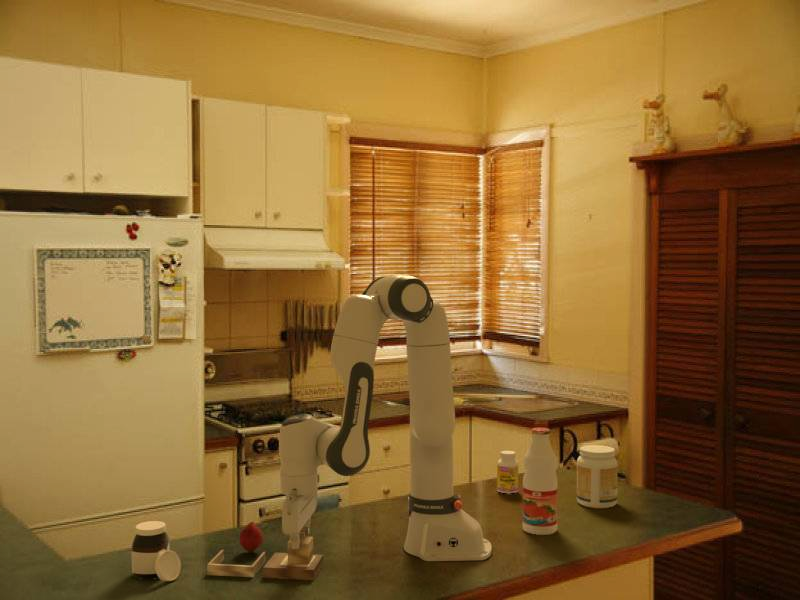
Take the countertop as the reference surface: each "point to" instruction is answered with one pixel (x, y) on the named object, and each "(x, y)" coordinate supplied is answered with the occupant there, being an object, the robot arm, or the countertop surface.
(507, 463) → the supplement bottle
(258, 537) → the onion
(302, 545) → the oak block
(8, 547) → the countertop surface
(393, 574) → the countertop surface
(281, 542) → the countertop surface
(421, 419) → the robot arm
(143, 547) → the spread jar
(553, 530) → the fruit juice
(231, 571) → the wooden tray
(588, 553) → the countertop surface
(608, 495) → the supplement tub
